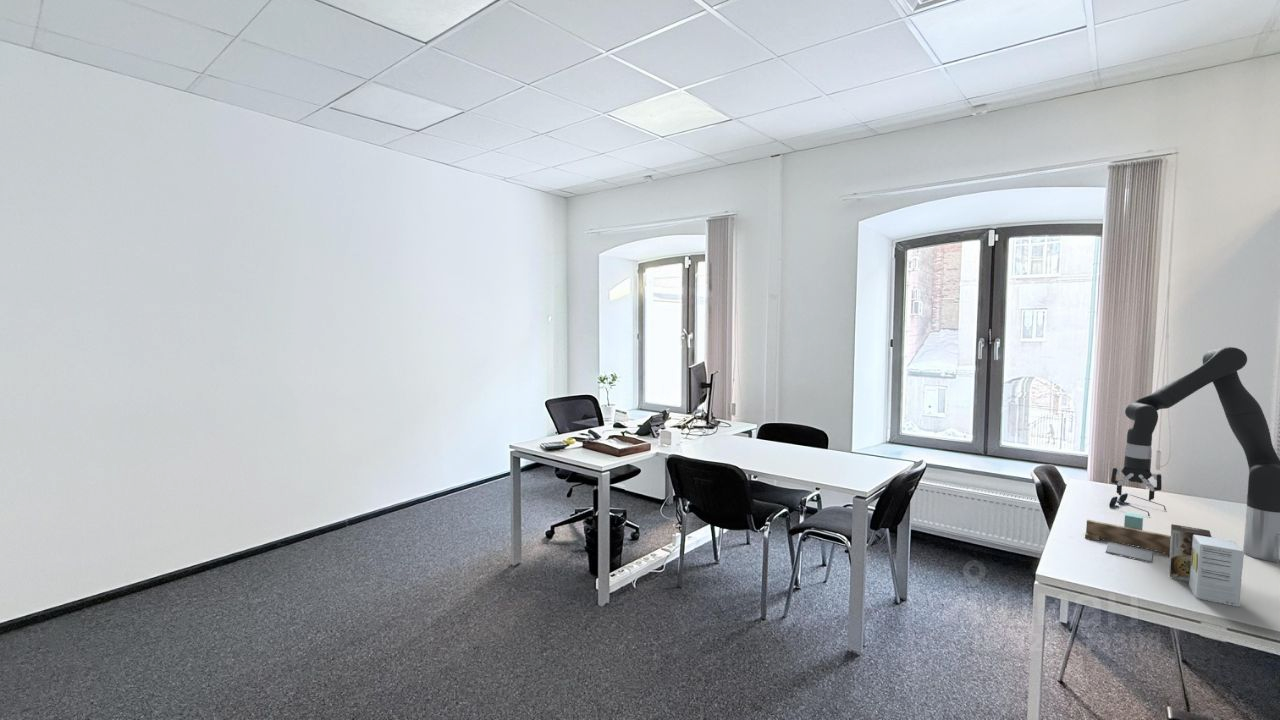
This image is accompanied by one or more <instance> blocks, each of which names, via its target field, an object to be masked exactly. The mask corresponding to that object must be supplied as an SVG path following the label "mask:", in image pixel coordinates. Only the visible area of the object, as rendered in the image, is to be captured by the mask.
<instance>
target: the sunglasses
mask: <svg viewBox="0 0 1280 720" xmlns="http://www.w3.org/2000/svg"><path fill="white" fill-rule="evenodd" d="M1128 496H1129V494H1128V493H1127V492H1126V493H1123V494H1121V495H1119V497H1118V496H1113V497H1111V499H1110V500H1109V501H1110V502H1109V508H1111V507H1114V506H1116V504H1123V505H1124V506H1125V505H1126V506H1128V507H1132V508H1133V509H1137V510H1141V511H1144V512H1146V513H1147V515H1148V516H1150V517H1151V515H1150V512H1149V511H1148V510H1145V509H1141V508H1139V507H1136V506H1134V505H1131V504H1127V503H1125V502H1126V500H1127V499H1128ZM1130 496H1132V497H1135V498H1137V499H1139V500H1140V499H1141V500H1144V501H1147V502H1149V503H1153V504H1156V505H1159V506H1162V507H1163V509H1164V510H1166V511H1167V508H1166V506H1165V505H1164V504H1160V503H1158V502H1154V501H1152V500H1151V501H1150V500H1149V499H1145V498H1143V497H1140V496H1139V497H1138V496H1135V495H1133V494H1130ZM1123 502H1124V503H1123ZM1148 516H1147V517H1148Z"/></svg>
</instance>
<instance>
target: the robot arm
mask: <svg viewBox="0 0 1280 720" xmlns="http://www.w3.org/2000/svg"><path fill="white" fill-rule="evenodd" d="M1247 362H1248V356H1247V354H1246V353H1245V352H1244V350H1242V349H1240V348H1238V347H1233V346H1225V347H1219V348H1213V349H1210V350H1208V351H1206V352H1205V353H1204V355H1203V357H1202V365H1200V366H1199V367H1197V368H1195V369H1194V370H1192V371H1190V372H1187V374H1184V375H1182V376H1180V377H1178V378H1176V379H1174V380H1172V381H1169V382H1168V383H1166V384H1165V385H1163V386H1162V387H1160V388H1158V389H1156V390H1155V391H1154V392H1152V393H1151V394H1148V395H1145V396H1143V397H1140V398H1139V399H1136V400H1134V401H1132V402H1130V403H1129V404H1128V405H1127V407H1126V408H1125V410H1124V411H1125V412H1124V413H1125V415H1126V417H1127V418H1128V419H1130V420H1132V421H1134V422H1133V426H1132V427H1130V428H1129V429H1128V430H1127V433H1126V444H1125V449H1124V461H1123V468H1118V467H1116V466H1114V467H1113V469H1112V471H1111V472H1112V473H1111V478H1110V483H1112V484H1115V485H1116V494H1118V496H1121V495H1122V493H1123V492H1122V490H1123V484H1124V483H1126V482H1127V481H1129V482H1132V483H1139V484H1144V485H1145V486H1146V487H1147V488H1148V489H1149V490H1148V491H1149V492H1148V493H1149V494H1148V500H1149V501H1152V500H1154V499H1155V492H1156V491H1159V492H1160V491H1162V488H1163V487H1162V479H1163V478H1162V474H1161V473H1152V471H1151V470H1152V469H1151V467H1152V456H1153V455H1152V454H1153V449H1152V443H1153V434H1154V432H1155V429H1156V427H1157V424H1158V420H1159V412H1158V411H1159V410H1163V409H1164V410H1165V409H1166V410H1167V409H1170V408H1172V407H1173V406H1175V405H1176V404H1178V403H1180V402H1181V401H1183V400H1184V399H1186V398H1187V397H1189V396H1191V395H1192V394H1194V393H1196V392H1197V391H1199V390H1201V389H1203V388H1204V387H1205V386H1207V385H1209V384H1211V383H1212V384H1213V386H1214V388H1215V390H1216V393H1217V395H1218V399H1219V401H1220V404H1221V407H1222V409H1223V412H1224V416H1225V417H1226V420H1227V423H1228V425H1229V426H1230V430H1231V431H1232V433H1233V435H1234V437H1236V439H1237V441H1238V443H1239V445H1241V447H1242V450H1243V452H1244V455H1245V459H1246V462H1247V465H1248V480H1247V481H1248V483H1247V484H1248V485H1247V495H1246V508H1245V509H1246V511H1245V520H1244V521H1245V522H1244V535H1243V536H1244V537H1243V546H1242V547H1243V549H1242V550H1243V551H1244V555H1247V556H1250V557H1252V558H1256V559H1259V560H1265V561H1269V562H1271V561H1272V562H1274V563H1279V562H1280V458H1279V456H1278V454H1277V452H1276V450H1275V448H1274V445H1273V441H1272V436H1271V433H1270V432H1271V431H1270V427H1269V424H1268V422H1267V419H1266V416H1265V414H1264V411H1263V409H1262V407H1261V405H1260V403H1259V402H1258V401H1257V400H1256V398H1255V397H1254V396H1253V395H1252V394H1251V393H1250V392H1249V391H1248V390H1247V388H1246V387H1245V386H1244V385H1243V383H1242V381H1241V379H1240V376H1239V374H1238V371H1240V370H1242V369H1243V368H1244V367H1245V366H1246V365H1247ZM1120 473H1122V474H1123V475H1124V476H1123V477H1122V478H1121V479H1119V480H1117V475H1118V474H1120ZM1150 478H1153V479H1154V480H1156V486H1154V485H1153V484H1152V482H1151V481H1150V480H1149V479H1150Z"/></svg>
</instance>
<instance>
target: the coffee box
mask: <svg viewBox="0 0 1280 720" xmlns="http://www.w3.org/2000/svg"><path fill="white" fill-rule="evenodd" d="M1193 535H1200V536H1206V537H1212V534H1211V531H1210V530H1208V529H1203V528H1198V527H1197V528H1196V527H1191V526H1185V525H1179V524H1172V523H1171V526H1170V536H1171V539H1170V556H1169V558H1168V559H1169V560H1168V562H1169V563H1168V577H1169V576H1170V577H1172V578H1171V579H1175V578H1176V579H1177V580H1181V581H1184V582H1190V569H1191V556H1192V542H1193ZM1212 538H1213V537H1212ZM1170 577H1169V578H1170ZM1176 579H1175V580H1176Z"/></svg>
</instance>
